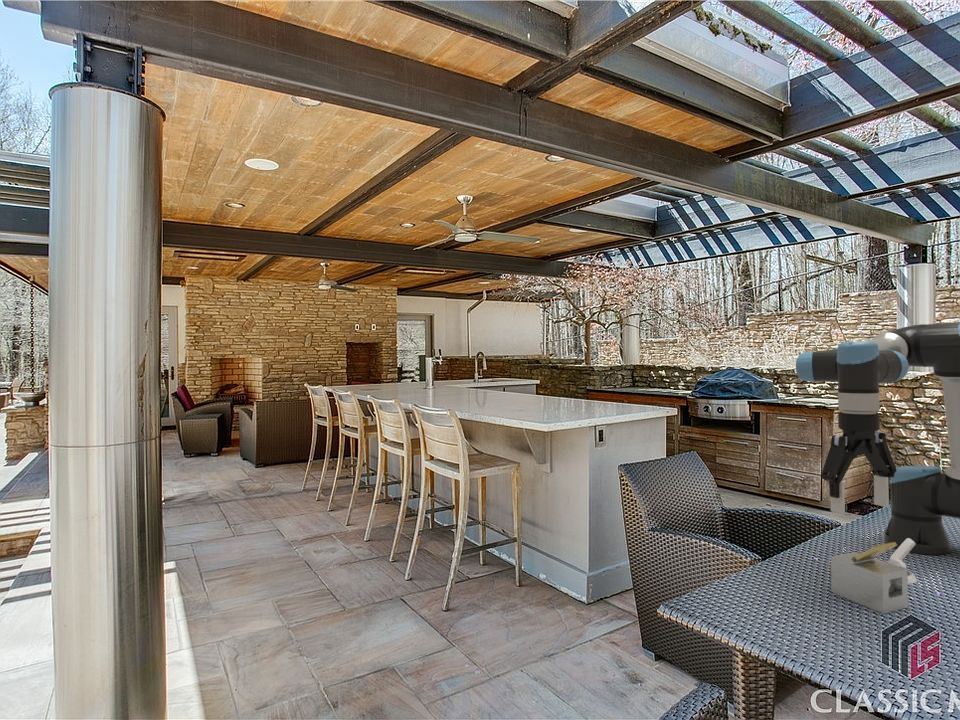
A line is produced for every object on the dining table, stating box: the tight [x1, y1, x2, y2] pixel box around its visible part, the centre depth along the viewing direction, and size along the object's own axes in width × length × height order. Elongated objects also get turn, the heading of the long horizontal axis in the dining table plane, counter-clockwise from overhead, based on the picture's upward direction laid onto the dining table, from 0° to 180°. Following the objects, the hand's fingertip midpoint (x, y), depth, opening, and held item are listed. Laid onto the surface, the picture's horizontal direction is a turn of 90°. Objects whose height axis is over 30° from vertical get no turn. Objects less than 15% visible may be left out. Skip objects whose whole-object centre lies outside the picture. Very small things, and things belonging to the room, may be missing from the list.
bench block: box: [830, 551, 909, 614], centre depth 129 cm, size 8×12×8 cm, turn 20°
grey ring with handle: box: [887, 538, 918, 585], centre depth 141 cm, size 8×12×7 cm
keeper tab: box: [852, 542, 897, 562], centre depth 127 cm, size 6×8×1 cm
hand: (860, 509), depth 123 cm, fingers open, 13 cm apart
